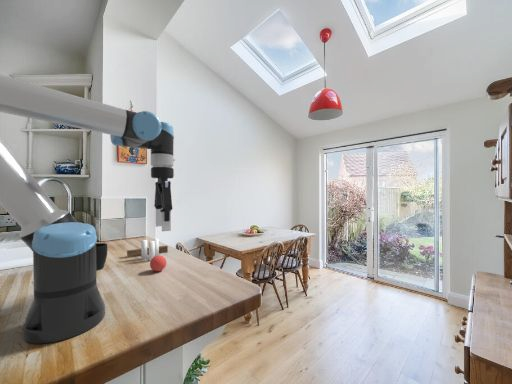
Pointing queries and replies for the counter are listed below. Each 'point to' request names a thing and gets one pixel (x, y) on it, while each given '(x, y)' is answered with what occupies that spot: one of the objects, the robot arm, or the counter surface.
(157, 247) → the pin right
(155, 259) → the ball
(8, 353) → the counter surface
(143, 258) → the pin left
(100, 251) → the mug
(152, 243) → the pin front
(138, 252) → the backstop
